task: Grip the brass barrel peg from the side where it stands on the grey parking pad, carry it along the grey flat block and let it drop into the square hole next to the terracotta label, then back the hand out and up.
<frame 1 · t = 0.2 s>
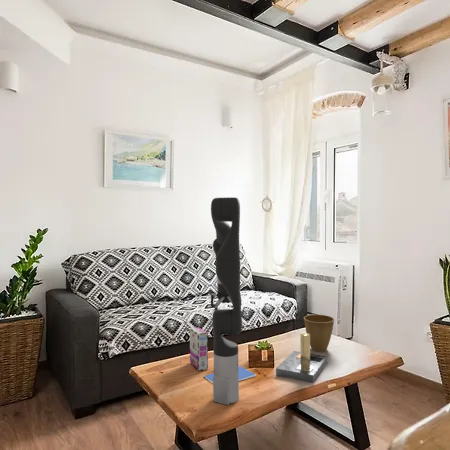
hand: (226, 315, 178), 22 cm above the table, fingers open, 8 cm apart
blue notebook: (229, 378, 162), on the table
plant pot: (319, 349, 194), on the table
grey flat block: (302, 368, 169), on the table
barrel peg: (305, 367, 163), point 3 cm above the table, touching grey flat block
candy bar box: (198, 366, 174), on the table
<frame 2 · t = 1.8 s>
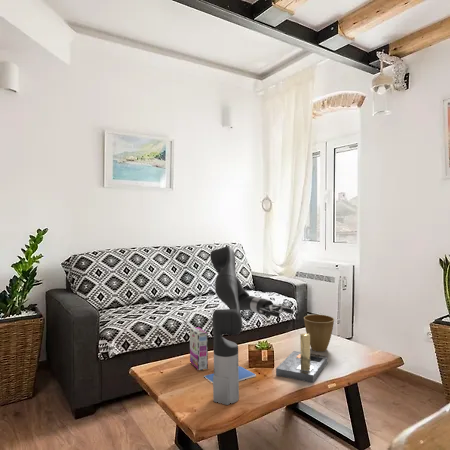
hand: (286, 313, 171), 24 cm above the table, fingers open, 8 cm apart
nothing on the table moved.
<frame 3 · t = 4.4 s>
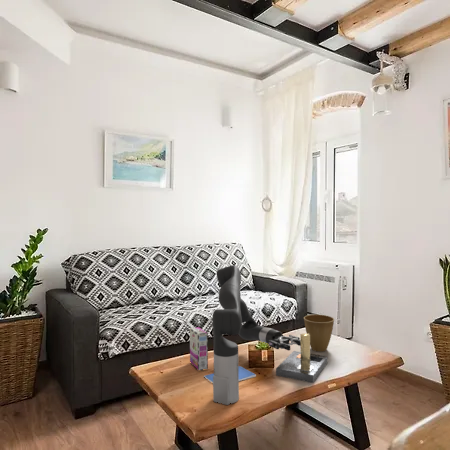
hand: (296, 346, 166), 11 cm above the table, fingers open, 8 cm apart
nothing on the table moved.
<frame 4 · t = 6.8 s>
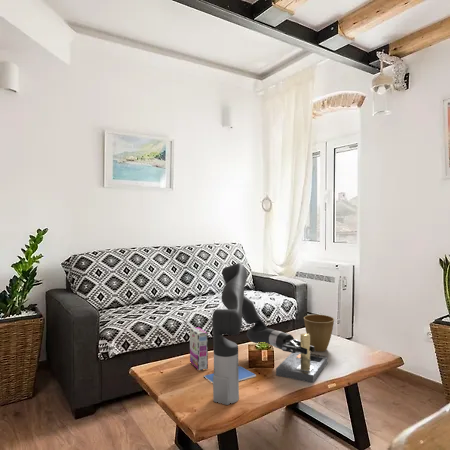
hand: (310, 350, 160), 11 cm above the table, fingers closed on barrel peg, 4 cm apart
barrel peg: (305, 367, 163), point 3 cm above the table, touching grey flat block, gripper
everything else where it was.
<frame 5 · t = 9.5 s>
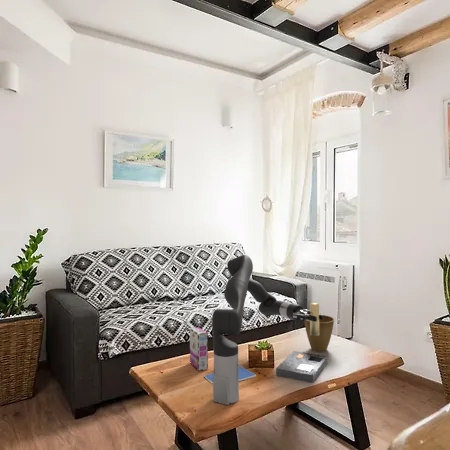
hand: (319, 318, 170), 22 cm above the table, fingers closed on barrel peg, 4 cm apart
barrel peg: (314, 334, 173), point 14 cm above the table, touching gripper
everything else where it was.
when the fingers open (12 cm above the table, at t = 12.6 s): barrel peg drops 4 cm, resting in grey flat block.
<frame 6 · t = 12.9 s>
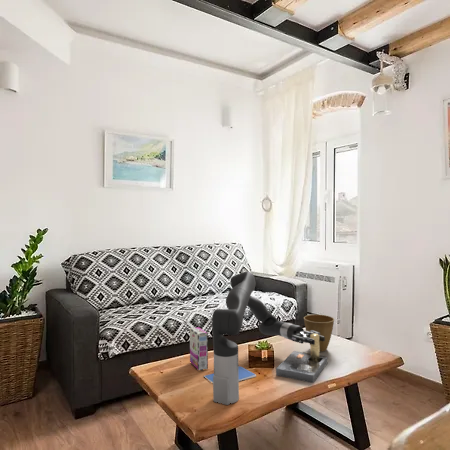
hand: (319, 340, 171), 12 cm above the table, fingers open, 6 cm apart
barrel peg: (315, 365, 173), resting in grey flat block
everything else where it was.
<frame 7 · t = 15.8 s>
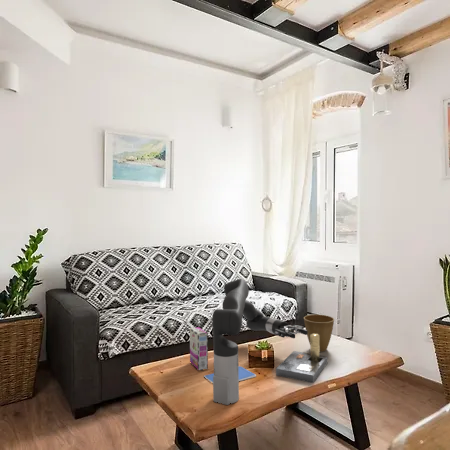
hand: (301, 334, 179), 12 cm above the table, fingers open, 8 cm apart
nothing on the table moved.
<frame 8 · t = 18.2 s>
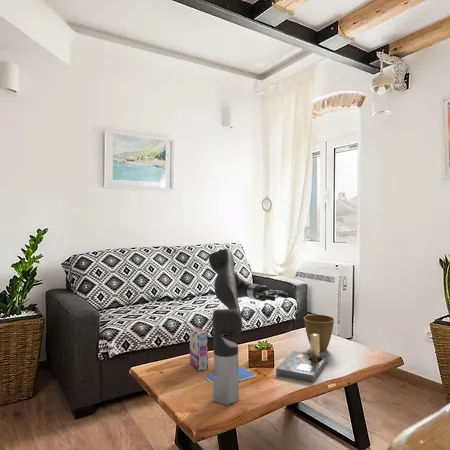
hand: (281, 297, 178), 30 cm above the table, fingers open, 8 cm apart
nothing on the table moved.
at the end: barrel peg 0.1 cm from the target spot on the grey flat block, point 0.0 cm above the grey flat block's base; barrel peg tilted 0°; the gripper is holding nothing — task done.
